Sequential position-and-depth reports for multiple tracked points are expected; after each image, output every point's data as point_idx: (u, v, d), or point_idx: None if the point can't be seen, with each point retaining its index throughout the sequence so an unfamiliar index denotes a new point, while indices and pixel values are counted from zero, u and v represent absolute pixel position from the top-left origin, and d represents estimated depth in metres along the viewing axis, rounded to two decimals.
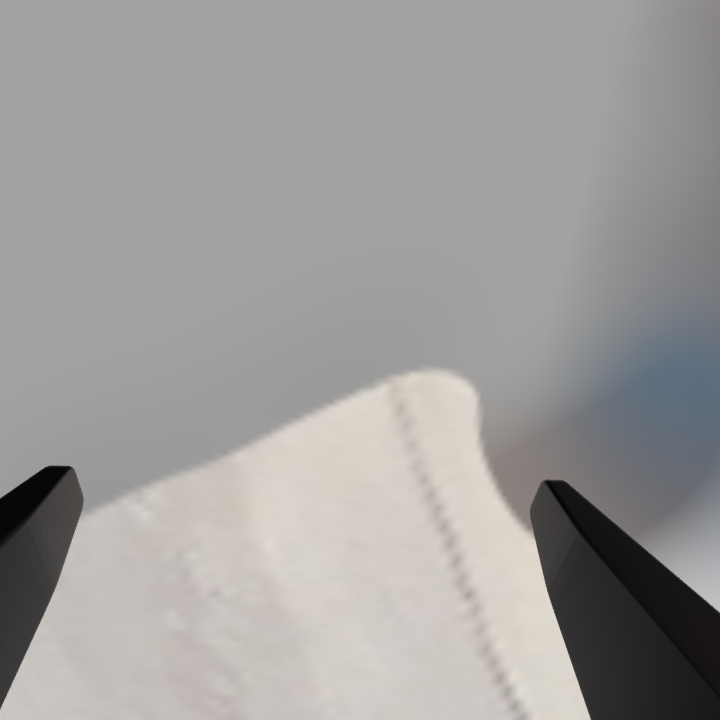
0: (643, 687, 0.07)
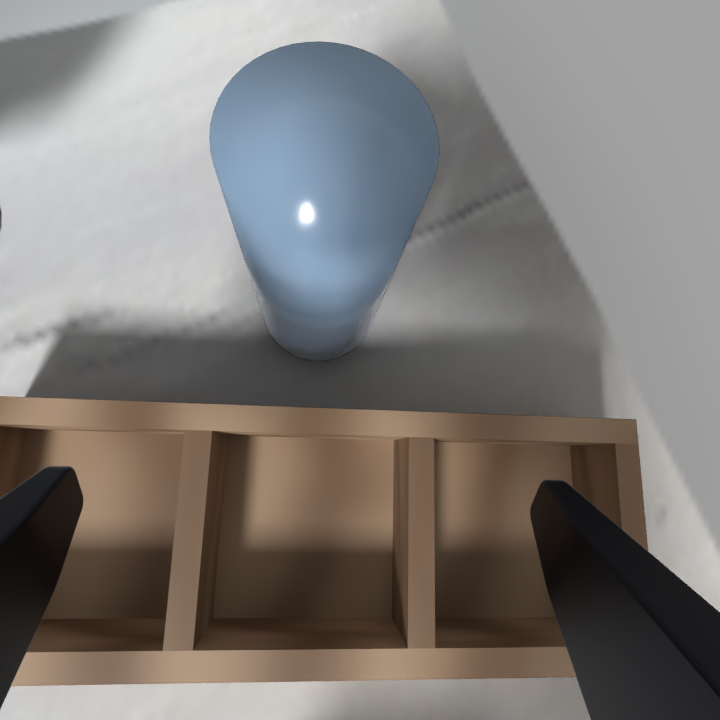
0: (643, 687, 0.07)
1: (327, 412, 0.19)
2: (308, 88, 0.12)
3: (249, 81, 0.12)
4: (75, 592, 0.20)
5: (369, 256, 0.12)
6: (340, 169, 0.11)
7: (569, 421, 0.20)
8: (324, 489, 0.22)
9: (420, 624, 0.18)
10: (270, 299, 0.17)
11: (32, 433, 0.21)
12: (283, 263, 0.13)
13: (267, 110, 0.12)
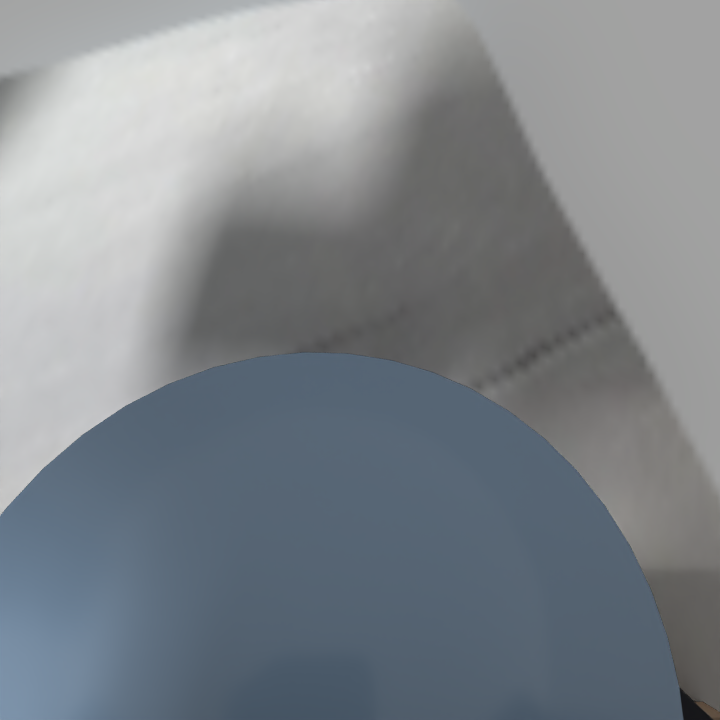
0: None
1: None
2: (258, 531, 0.04)
3: (60, 522, 0.04)
4: None
5: None
6: None
7: None
8: None
9: None
10: None
11: None
12: None
13: (111, 638, 0.03)
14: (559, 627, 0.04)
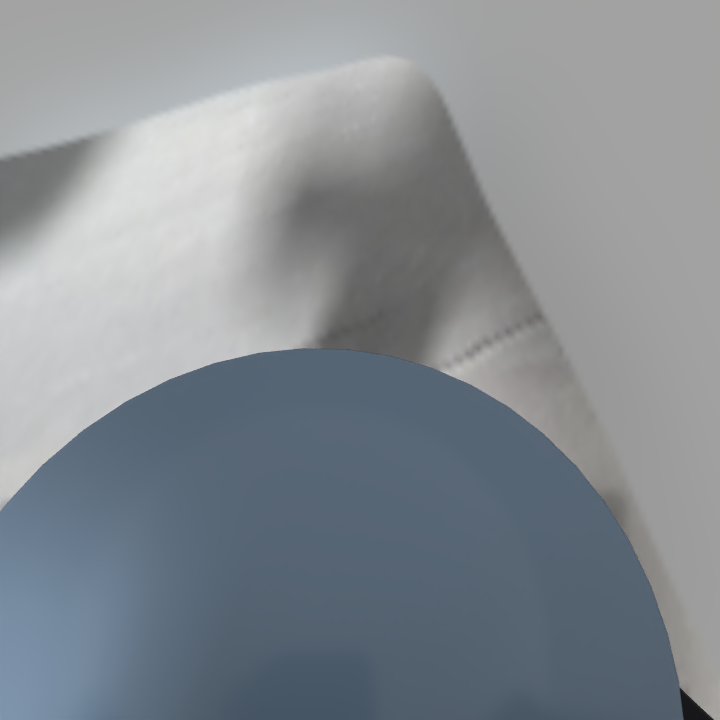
0: None
1: None
2: (259, 527, 0.04)
3: (61, 517, 0.04)
4: None
5: None
6: None
7: None
8: None
9: None
10: None
11: None
12: None
13: (113, 633, 0.03)
14: (559, 623, 0.04)
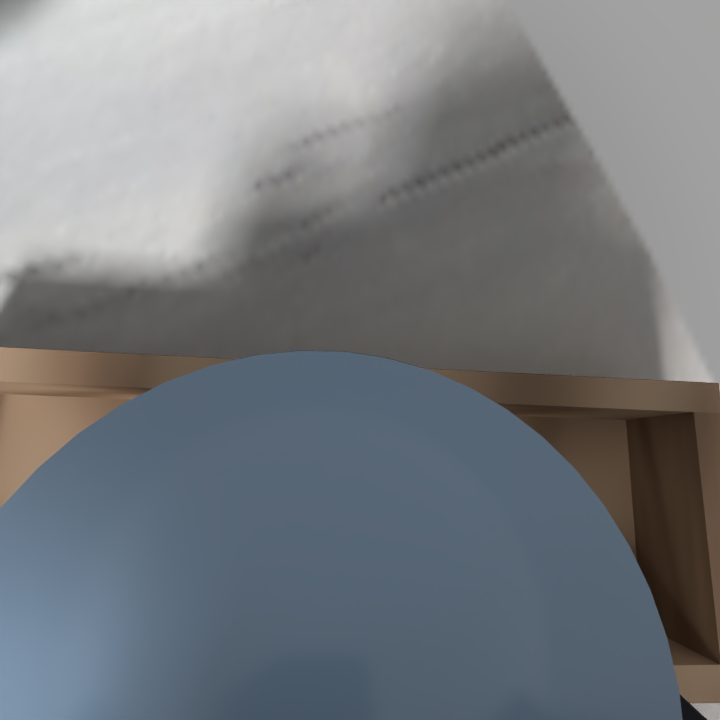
0: None
1: None
2: (255, 531, 0.04)
3: (55, 521, 0.04)
4: None
5: None
6: None
7: (637, 384, 0.16)
8: None
9: None
10: None
11: None
12: None
13: (106, 637, 0.03)
14: (558, 627, 0.04)
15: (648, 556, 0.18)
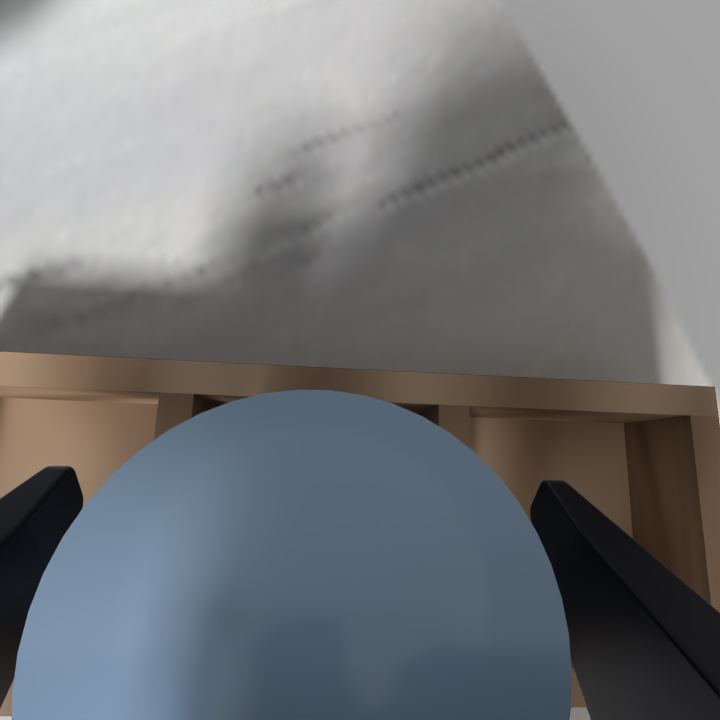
0: (643, 687, 0.07)
1: (337, 373, 0.15)
2: (265, 520, 0.05)
3: (124, 513, 0.05)
4: None
5: None
6: None
7: (634, 388, 0.16)
8: None
9: None
10: None
11: None
12: None
13: (162, 594, 0.05)
14: (482, 590, 0.05)
15: None
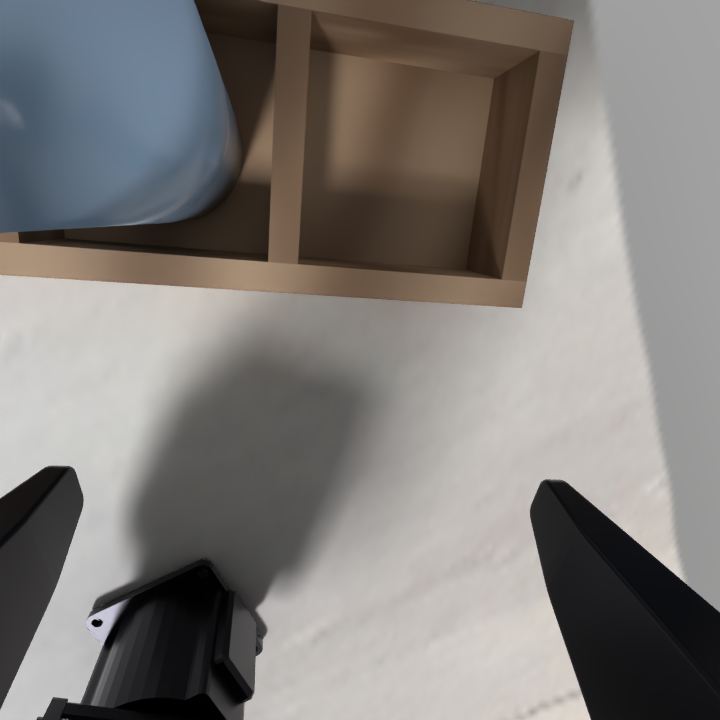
0: (643, 687, 0.07)
1: None
2: None
3: None
4: None
5: (93, 218, 0.07)
6: None
7: (491, 11, 0.15)
8: None
9: (282, 238, 0.16)
10: None
11: None
12: None
13: None
14: None
15: (481, 209, 0.20)
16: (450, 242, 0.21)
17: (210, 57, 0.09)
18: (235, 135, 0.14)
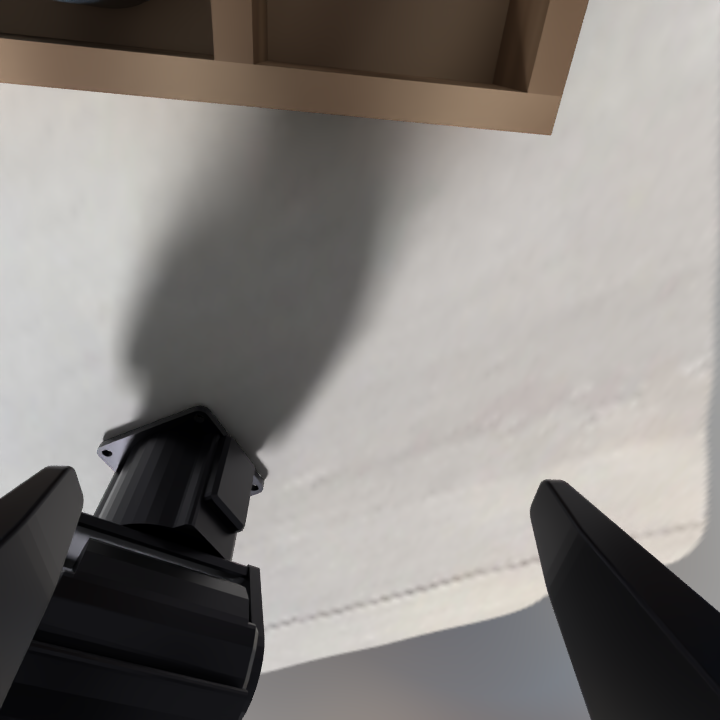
0: (643, 687, 0.07)
1: None
2: None
3: None
4: None
5: None
6: None
7: None
8: None
9: (230, 24, 0.12)
10: None
11: None
12: None
13: None
14: None
15: None
16: (474, 42, 0.16)
17: None
18: None
